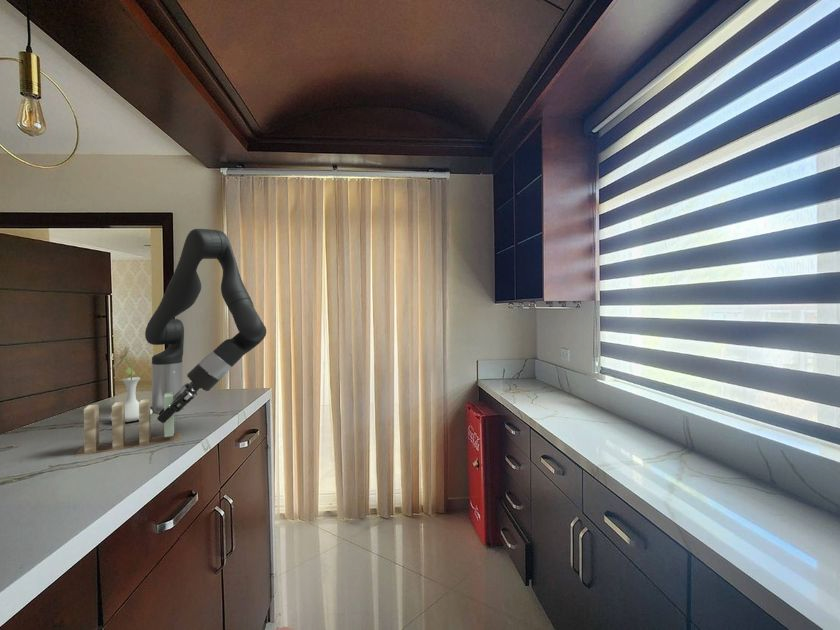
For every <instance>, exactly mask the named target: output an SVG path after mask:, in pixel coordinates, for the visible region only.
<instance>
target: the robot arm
mask: <svg viewBox="0 0 840 630" xmlns="http://www.w3.org/2000/svg"><path fill="white" fill-rule="evenodd" d="M234 254H235V253H234V251H233V248H232V244H231V242H230V240H229V237H228V236H227V234H225V232H223V231H222V230H218V229H210V228H208V229H207V228H194V229H192V230H190V231H189V232H188V234H187V236H186V238H185V241H184V243H183V246H182V250H181V255H180V257H179V259H178V263H177V265H176V268H175V271H174V273H173V275H172V277H171V279H170V280H169V283H168V284H167V286H166V289H165V292H164V294H163V296H162V298H161V301H160V302H159V305H158V307H157V308H156V309H155V311H154V313H153V314H152V316H150V317H151V318H149V320H148V323H147V324H146V328H145V333H144V336H145V341H147V343H148V344H150V345H153V346H154V345H156V346H164V345H168V346H167V348H166V349H164V350H163V351H162V352H159V353H156V354H155V355H152V357H151V407H152V408H151V410H152V411H153V413H155V414H156V413H157V414H158V416H157V419H156V420H157V421H158V422H160V423H162V424H164V423H165V422H166V421H167V420H168V419H169V418H170V417H171V416H172V415H173V414H174V415H175V413H179V412H180V411H181V410H182V409H183V408H184V407H185V406H186V405H188V404H189V403H190V402H191V401H192V400H193V399H195V398H196V396H197V395H198V392H199V390H201V389H202V390H203V391H205V392H209V391H210V390H212V388H213V387H215V385H216V384H217V383H218V382H220V381H221V380H222V378H223V377H225V376H226V375H227V374H228V373H229V371H230V369H231V368H232V367H234V366H235V365H236V364H237V363H238V362H239V361H240V360H241V358H242V357H243V356H245V355H246V354H247V353H248V352H250V351H252V350H253V349H254V348H255V347H257V346H258V345H259V344H260V343H261V342H263V340H264V339H265V338H266V335H267V328H266V326H265V324H264V322H263V321H262V319H261V317H260V315H259V314H258V312H257V311H256V309H255V307H254V306H255V305H254V302H253V300H252V298H251V297H250V295H249V293H248V291H247V288H246V287H245V285H244V281H243V280H242V277H241V274H240V271H239V267H238V263H237V261H236V257H235V255H234ZM206 259H207V260H209V259H212V260H215V259H216V260H217V261H218V262H219V264H220V266H221V268H222V278H221V285H220V292H221V296H222V298H223V301H224V302H225V305H226V307H227V308H228V311H229V313H230V314H231V315H232V318H233V321H234V324H235V326H236V328H237V330H238V333H236V334H235V335H234V336H233V337H231V338H228V339H225V340H224V341H222V342H221V343H220V344H219V345H218V346H217V347H216V348H215V349H214V350H212V352H210V353H208V354H207V355H206V356H205V357H204V358H203V359H202V360H200V362H199V363H197V365H196V366H194V367H193V368H192V369H191V370H190V371H189V372H188V373H187V374H186V376H187V378H188V380H190V381H191V382H189V383H188V382H187V383H185V384H184V385H183V383H184V382H183V378H184V377H183V358H184V357H183V356H184V344H185V343H184V342H185V340H184V339H185V327H184V323H183V322H182V320H181V319H179V318H176V317H177V316H180V315H181V314H182V313H184V312H185V311H187V310H188V309H189V308H191V307H192V306H193V305H194V304H195V303H196V301H197V299H198V297H199V295H200V293H201V291H202V281H201V279H200V277H199V274H198V271H197V269H198V267H199V264H200V263H201V262H202V260H206ZM165 393H174V401H173V403H172V404H171V405H169V407H168V408H167V409H166V410H165V411H164V395H165Z"/></svg>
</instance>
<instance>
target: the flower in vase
mask: <svg viewBox="0 0 840 630" xmlns="http://www.w3.org/2000/svg"><path fill="white" fill-rule="evenodd" d="M130 348H131V347H130V345H128V346H125V347H124V349H123V351H122V350H121V351H120V352H119V355H118V357H117V358H116V359H115V363H114V364H113V365H112V367H113V369H114V370H115V369H117V368H119V367H120V366H121V365H122V364H123V363H124V361H126V362H127V364H128V365H129V366H128V367H127V369H125V373H126V374H128V377H125V378H122V379H121V381H122V382H123V383H124V385H125V388H126V394H127V395H126V400H125V401H124V402H125V423H130V422H136V421H139V403H140V401H138V400H137V396H136V394H137V393H136V392H137V391H136V390H137V385H138V383H139V381H140V380H141V377H138V376H137V377H134V375H135V374H136V371H134V369H133V367H132V364H131V362H129V360H128V359H127V356H128V355H129V353H130ZM153 413H154V412H153V410H152V408H150V416H151V415H153ZM109 420H111V421H112V413H111V414H110V416H109Z"/></svg>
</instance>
